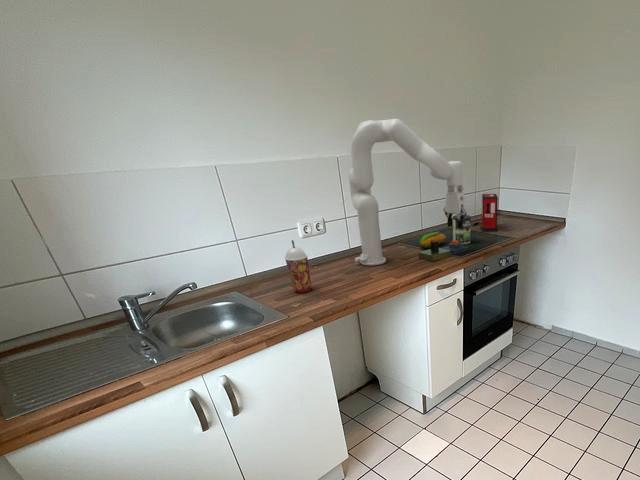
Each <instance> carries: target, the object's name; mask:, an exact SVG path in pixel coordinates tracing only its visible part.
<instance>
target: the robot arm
mask: <svg viewBox="0 0 640 480" xmlns="http://www.w3.org/2000/svg"><path fill="white" fill-rule="evenodd" d="M385 142H394V143H395V144H396V145H397V146H398V147H400V148H401V149H402V150H403V151H404V152H405V153H406V155H408V156H409V157H410V158H412V159H414V161H417V162H419V163H421V164H423V165H425V166H426V167H427V168H429V173H430V176H432V177H433V178H434V179H437V180H442V181H446V193H445V204H444V205H445V206H444V208H443V209H442V211H443V213H444V215H445V217H446V219H447V227H448V228H450V227H453V215H457V216H458V221H457V228H462V227H463V219H464V217H465V216H466V215H468V212H467V210H466V201H465V200H466V199H465V193H464V192H463V190H464V187H463V163H462V161H460V160H450V161H448V160H447V159H446V158H445V157H444V156H442V154H441V153H439V152H438V151H437V150H435V149H434V148H432V146H430V145H429V144H428V143H426V141H424V140H423V139H422V138H421V137H419V135H417V134H416V132H414V131H413V130H412V129H411V128H410V127H409V125H407V124H406V123H405V122H404V121H402V120H401V119H399V118H390V119H382V120H381V119H380V120H373V119H368V120H364V121H362V122H360V123H359V124H358V127H357V129H356V131H355V132H354V135H353V137H352V139H351V143H350V156H351V168H350V170H349V174H348V182H349V190H350V196H351V203H352V206H353V207H354V209H355V210H356V211H357V222H358V223H357V224H358V230H359V237H360V238H359V239H360V245H361V251H362V252H361V253H360V255H359V256H357V257H354V259H353V260H354V262H355V263H357V262H359V263H360V264H361V265H362V266H379V265H383V264H385V263H386V262H387V258H386V257H385V256H383V247H382V238H381V237H382V236H381V230H380V229H381V228H380V218H379V216H380V215H379V209H380V208H379V202H378V200H377V198H376V197H375V196H374V195H373V194H372V191H371V188H372V187H373V185H374V181H375V180H374V179H375V178H374V171H373V162H372V150H373V147H374V145H375V144H376V143H385Z"/></svg>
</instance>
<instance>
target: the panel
mask: <svg viewBox="0 0 640 480" xmlns="http://www.w3.org/2000/svg"><path fill="white" fill-rule="evenodd" d="M451 256H452V254H451V250H447V249H443V247H439V251H438V252H431V248H428V249H425V250H421V251H419V252H418V259H421V260H425V261H428V262H432V263H433V262H437V261H440V260H443V259H446V258H449V257H450V258H451Z"/></svg>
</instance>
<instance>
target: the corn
mask: <svg viewBox="0 0 640 480" xmlns="http://www.w3.org/2000/svg"><path fill="white" fill-rule="evenodd" d="M446 239H447V236H446V235H445V234H443V233H440V232H439V231H435V232H430V233H427V234H423V235H422V236H421V237H420V238H419V244H420V247H422V248H423V249H431V242H430V241H431V240H437V241H438V242H439V246H440V245H441V243H442V242H444V240H446Z"/></svg>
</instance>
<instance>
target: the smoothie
mask: <svg viewBox="0 0 640 480" xmlns="http://www.w3.org/2000/svg"><path fill="white" fill-rule="evenodd" d="M291 244H292V247H291V248H289V249H288V250H287V251H286V253H285V257H284V260H285V263H286V266H287V270H288V273H289V276H290V280H291V283H292V286H293V289H294V290H295V291H296V292H297V293H307V292H309V291H311V287H312V281H311V273H310V272H311V271H310V266H309V259H308V254H306V252H305V251H304V250H303V249H302V248H300V247H296V246H295V241H294V240H293V239H292V240H291Z"/></svg>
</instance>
